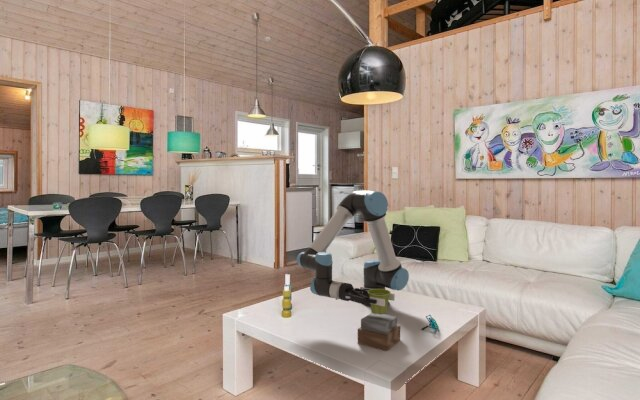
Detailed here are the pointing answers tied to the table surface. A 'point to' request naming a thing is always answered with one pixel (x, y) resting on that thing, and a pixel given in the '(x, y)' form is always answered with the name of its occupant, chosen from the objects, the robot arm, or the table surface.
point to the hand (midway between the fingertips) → (389, 300)
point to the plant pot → (383, 295)
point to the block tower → (379, 331)
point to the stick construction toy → (431, 324)
